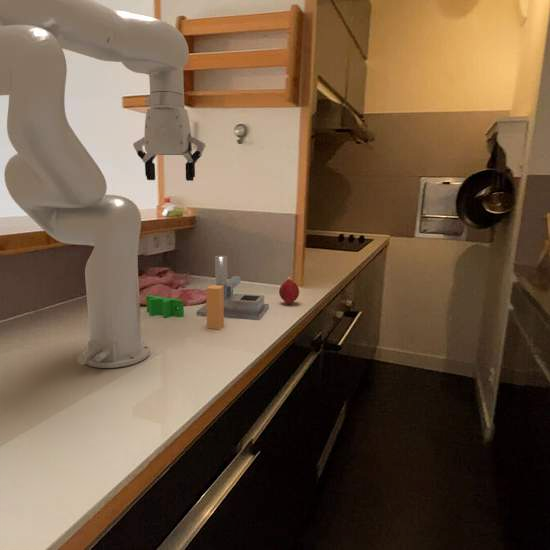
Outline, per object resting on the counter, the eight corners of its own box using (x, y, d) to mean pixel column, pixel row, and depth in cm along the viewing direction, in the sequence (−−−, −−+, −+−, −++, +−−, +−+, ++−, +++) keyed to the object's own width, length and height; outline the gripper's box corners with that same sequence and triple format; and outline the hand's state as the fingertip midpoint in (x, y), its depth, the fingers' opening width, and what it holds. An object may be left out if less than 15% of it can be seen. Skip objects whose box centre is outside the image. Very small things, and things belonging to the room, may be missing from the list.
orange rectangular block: (219, 329, 103) (219, 288, 101) (206, 328, 103) (206, 288, 101) (223, 325, 106) (223, 285, 104) (211, 324, 106) (210, 285, 104)
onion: (302, 303, 127) (303, 277, 125) (292, 307, 122) (292, 280, 120) (285, 300, 130) (286, 274, 128) (275, 304, 125) (275, 277, 124)
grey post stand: (258, 319, 110) (259, 262, 107) (196, 315, 114) (195, 259, 111) (275, 299, 131) (275, 250, 128) (221, 295, 134) (221, 248, 131)
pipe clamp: (140, 315, 114) (139, 298, 113) (149, 311, 117) (148, 295, 116) (175, 320, 110) (174, 302, 109) (184, 316, 113) (183, 299, 112)
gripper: (123, 101, 96) (128, 179, 99) (198, 99, 93) (200, 180, 97) (139, 106, 103) (143, 180, 107) (209, 105, 100) (210, 180, 104)
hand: (170, 180), depth 102 cm, fingers open, 9 cm apart
